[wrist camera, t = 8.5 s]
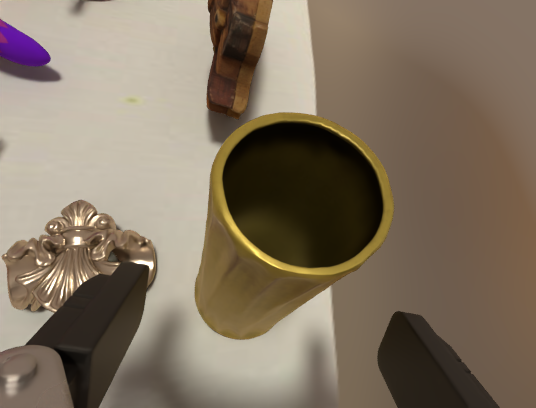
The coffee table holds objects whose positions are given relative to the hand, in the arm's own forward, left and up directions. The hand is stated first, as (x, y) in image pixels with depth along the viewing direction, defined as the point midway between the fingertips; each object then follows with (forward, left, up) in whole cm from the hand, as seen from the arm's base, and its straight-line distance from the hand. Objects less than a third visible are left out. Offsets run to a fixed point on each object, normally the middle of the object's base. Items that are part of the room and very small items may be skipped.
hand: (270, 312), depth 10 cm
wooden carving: (-16, +15, -11) cm, 25 cm away
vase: (-2, +2, -11) cm, 12 cm away
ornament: (-10, -3, -11) cm, 15 cm away
